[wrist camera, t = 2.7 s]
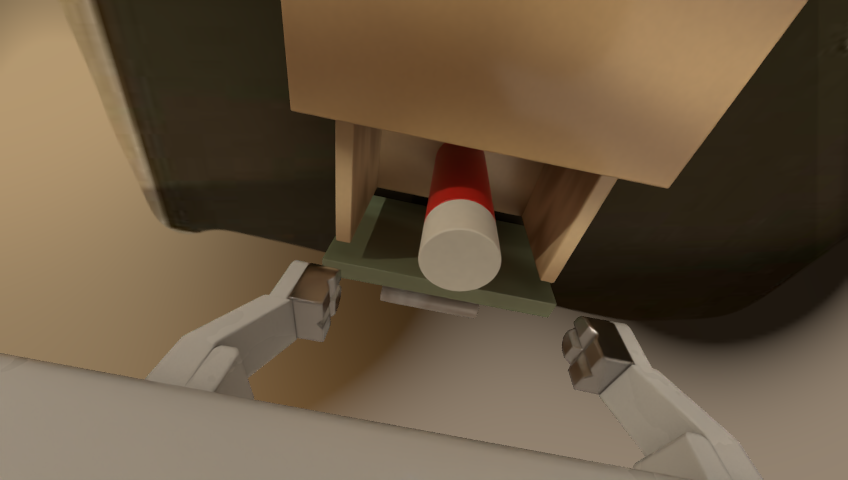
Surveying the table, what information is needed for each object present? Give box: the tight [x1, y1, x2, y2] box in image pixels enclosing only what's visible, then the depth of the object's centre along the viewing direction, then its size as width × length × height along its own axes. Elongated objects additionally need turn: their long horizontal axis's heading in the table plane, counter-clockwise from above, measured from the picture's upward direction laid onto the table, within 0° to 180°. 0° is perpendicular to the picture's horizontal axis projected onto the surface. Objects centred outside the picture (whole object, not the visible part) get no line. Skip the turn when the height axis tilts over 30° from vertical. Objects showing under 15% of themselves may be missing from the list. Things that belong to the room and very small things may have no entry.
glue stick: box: [418, 143, 502, 291], centre depth 16 cm, size 3×3×10 cm
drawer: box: [322, 120, 618, 318], centre depth 18 cm, size 19×13×8 cm
